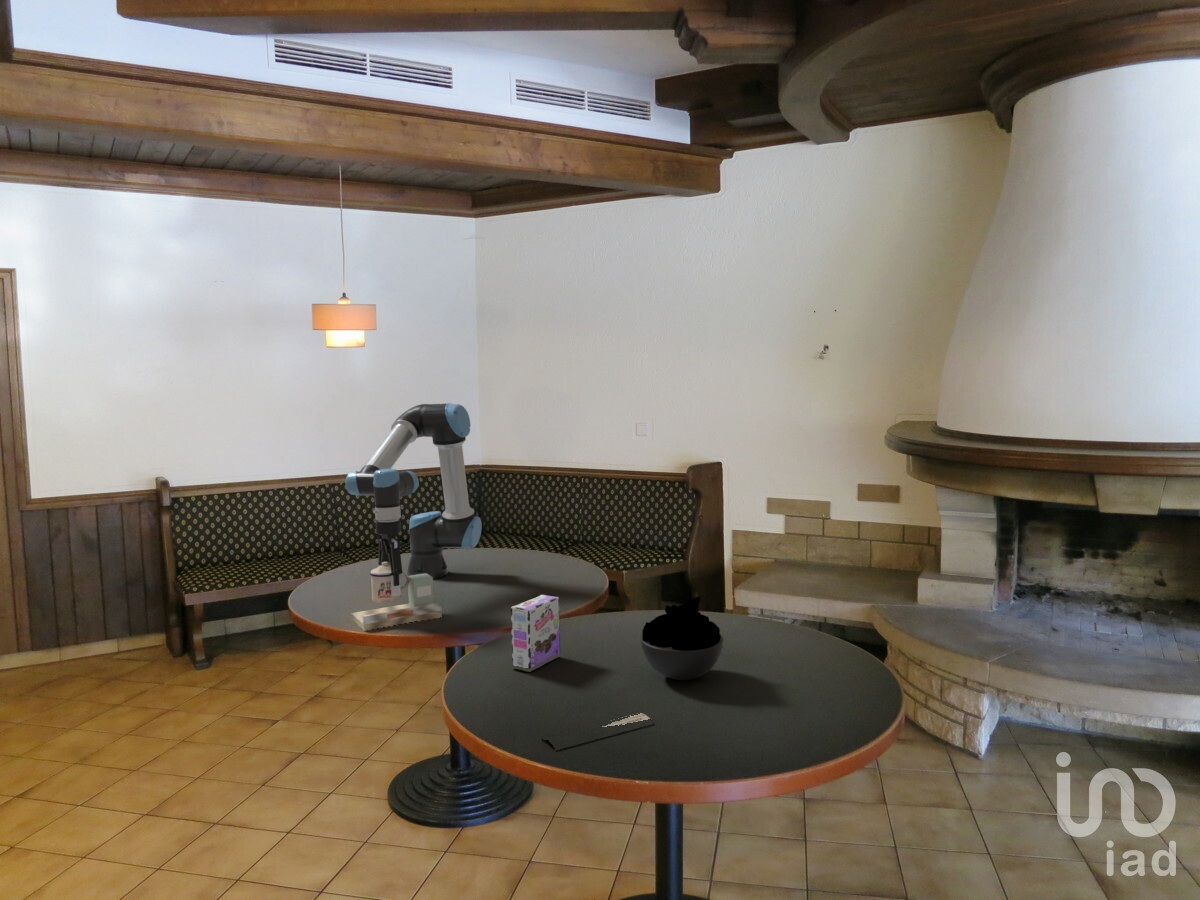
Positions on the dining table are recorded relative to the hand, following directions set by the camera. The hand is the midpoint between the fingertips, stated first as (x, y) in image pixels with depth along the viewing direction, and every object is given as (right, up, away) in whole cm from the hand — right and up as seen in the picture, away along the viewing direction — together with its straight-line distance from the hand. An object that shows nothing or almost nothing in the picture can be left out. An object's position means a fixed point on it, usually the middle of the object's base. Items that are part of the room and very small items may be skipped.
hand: (391, 592), depth 260 cm
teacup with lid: (0, -2, 0) cm, 2 cm away
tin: (+8, -6, +4) cm, 11 cm away
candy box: (+48, -12, -41) cm, 64 cm away
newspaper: (+64, -16, -83) cm, 106 cm away
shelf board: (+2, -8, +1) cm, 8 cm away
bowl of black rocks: (+84, -12, -53) cm, 100 cm away
